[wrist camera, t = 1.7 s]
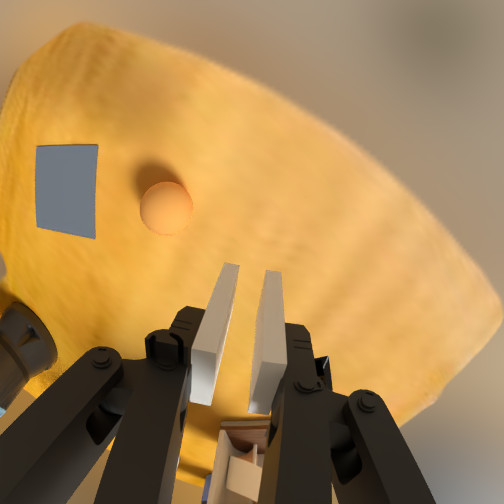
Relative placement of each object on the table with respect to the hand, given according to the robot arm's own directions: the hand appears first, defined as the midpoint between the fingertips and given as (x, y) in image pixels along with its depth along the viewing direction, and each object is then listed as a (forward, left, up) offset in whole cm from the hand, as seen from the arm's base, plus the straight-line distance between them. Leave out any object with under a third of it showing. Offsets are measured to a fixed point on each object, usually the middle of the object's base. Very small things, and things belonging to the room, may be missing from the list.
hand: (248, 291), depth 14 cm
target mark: (-26, 0, -16) cm, 31 cm away
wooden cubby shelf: (+7, -41, -17) cm, 45 cm away
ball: (-9, 0, -14) cm, 17 cm away
